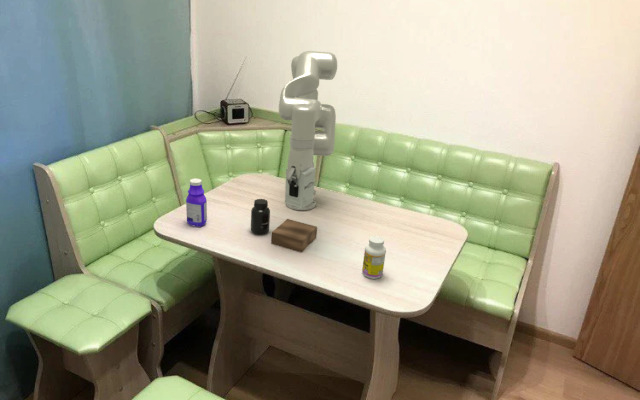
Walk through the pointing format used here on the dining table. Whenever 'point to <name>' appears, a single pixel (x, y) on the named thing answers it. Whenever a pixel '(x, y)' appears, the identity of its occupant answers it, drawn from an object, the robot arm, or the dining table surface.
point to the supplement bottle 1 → (260, 217)
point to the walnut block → (294, 235)
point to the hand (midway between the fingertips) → (299, 191)
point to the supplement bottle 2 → (374, 258)
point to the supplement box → (302, 189)
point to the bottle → (196, 204)
